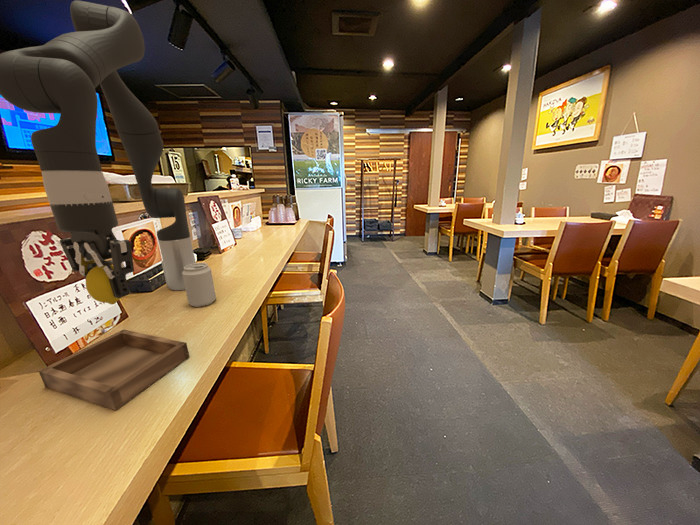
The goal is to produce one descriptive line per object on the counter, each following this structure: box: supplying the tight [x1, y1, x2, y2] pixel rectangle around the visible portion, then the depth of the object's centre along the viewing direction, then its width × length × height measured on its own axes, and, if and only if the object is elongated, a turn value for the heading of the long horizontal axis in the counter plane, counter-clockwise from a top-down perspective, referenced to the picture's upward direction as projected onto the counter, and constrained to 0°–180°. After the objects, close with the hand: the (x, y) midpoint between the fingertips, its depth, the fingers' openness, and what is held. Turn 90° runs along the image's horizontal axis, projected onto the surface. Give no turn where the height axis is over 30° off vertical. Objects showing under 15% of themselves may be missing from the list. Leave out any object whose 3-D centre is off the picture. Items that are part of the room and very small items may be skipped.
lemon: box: [85, 265, 128, 305], centre depth 49 cm, size 6×6×8 cm
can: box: [182, 262, 217, 308], centre depth 80 cm, size 8×8×12 cm
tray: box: [38, 329, 190, 412], centre depth 53 cm, size 18×14×4 cm
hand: (110, 294), depth 49 cm, fingers closed on lemon, 5 cm apart
